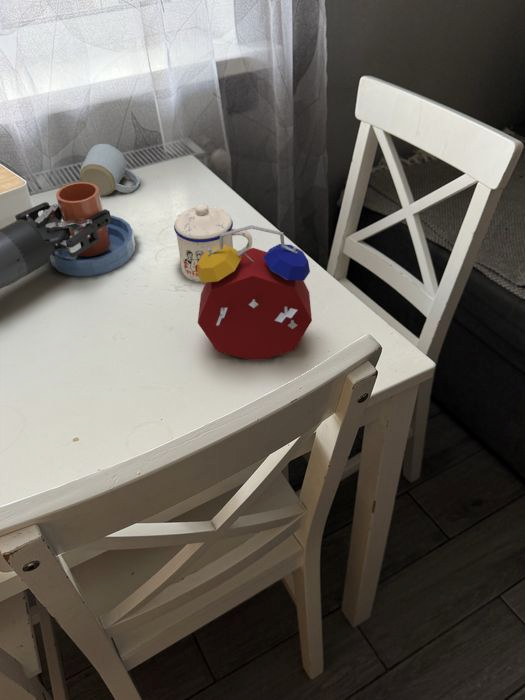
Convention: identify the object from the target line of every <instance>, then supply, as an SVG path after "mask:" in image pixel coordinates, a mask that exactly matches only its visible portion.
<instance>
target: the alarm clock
mask: <svg viewBox="0 0 525 700" xmlns="http://www.w3.org/2000/svg"><path fill="white" fill-rule="evenodd" d="M235 229H236V230H232V231H229V232H225V233H221V234H220V246H215V247H213V248H212V249H210V248H209V249H208V251H207V252H205V253H204V254H203V255H202V257H201V258H200V260H199V262H198V265H197V275H198V277H199V279H200V280H201V282H200V283H201V284H202V283H204V282H206V283H204V286H203V288H202V289H201V293H200V299H199V307H198V315H197V324H198V326H199V327H200V329H201V330H202V332H203V333H204V334H205V336H206V337H207V339H208V340H209V342H210V343H211V345H212V346H213V348H214V349H215V350H216V352H218V353H221V354H225V355H228V356H232V357H237V358H240V359H243V360H268V359H271V358H274V357H277V356H280V355H281V356H282V355H283V354H288V353H290V352H294V351H296V349H297V347H298V346H299V343H300V342H301V340H302V338H303V337H304V335H305V333H306V332H307V331H308V328H309V327H310V325H311V323H312V321H313V318H312V307H311V296H310V295H311V294H310V291H309V288H308V286H307V285H306V283H305V281H306V279H307V278H308V276H309V274H310V273H311V269H310V264H309V259H308V258H307V256H306V254H305V253H304V251H302V250H300V249H299V248H298V247H297V246H294V245H293V244H285V235H284V232H282V231H279V230H274V229H269V228H265V227H261V226H256V225H247V226H244V227H240V228H235ZM251 229H252V230H256V231H261V232H264V233H269V234H275V235H279V238H280V243H278V244H277V245H274V246H273V247H270V248H269V249H268V250H267V251H265V250H262V249H259V248H256V247H251V249H248V250H247V248H246V246H245V247H243V248H242V249H241V250H237V248H234V247H233V248H231V247H229V246H227V245H223V236H226V235H229V234H233V233H237V232H240V231H244V230H246V231H247V230H251ZM238 251H239V252H238Z"/></svg>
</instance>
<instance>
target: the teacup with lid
mask: <svg viewBox="0 0 525 700" xmlns="http://www.w3.org/2000/svg"><path fill="white" fill-rule="evenodd" d="M233 226H234V222H233V219H232V217H231V216H230V214H229V213H228V212H227V211H225V210H224V209H221V208H218V207H214V206H208V205H207V204H205V203H200V204H197V205H196V206H195V207H192V208H190V209H186V210H185V211H183V212H181V213H180V214H179V215H178V216H177V218H176V219H175V221H174V225H173V230H174V232H175V234H176V240H177V248H178V253H179V259H180V268H181V273H182V274H183V276H184V277H185V278H186V279H188V280H191V281H192V282H195V283H202V282H201V280H200V279H199V277H198V275H197V265H198V262H199V260H200V258H201V257H202V255H203V254H204V253H205V252H207V251H208V249H209V248H210V249H212V248H213V247H215V246H220V234H221V233H225V232H229V231H232V230H236V229H237V228H233ZM233 236H241V237H244V238H246V240H247V244H246V246H245V247H246V248H247V250H248V249H251V248H253V247H252V246H253V236H252V235H251V233H250V231H247V230H244V231H240V232H237V233H233V234H229V235H226V236H223V245H227V246H229V247H231V248H234V244H233V243H234V242H233ZM237 251H238V252H239V251H240V250H237ZM205 283H206V282H204V284H205Z"/></svg>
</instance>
